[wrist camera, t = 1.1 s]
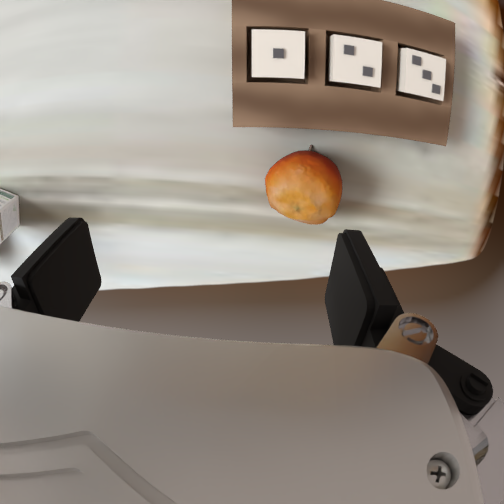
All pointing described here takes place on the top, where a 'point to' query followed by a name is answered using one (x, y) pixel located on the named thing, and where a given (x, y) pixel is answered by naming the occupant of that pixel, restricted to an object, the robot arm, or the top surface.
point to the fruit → (304, 187)
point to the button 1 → (278, 53)
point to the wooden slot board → (339, 93)
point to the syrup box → (8, 214)
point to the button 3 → (421, 73)
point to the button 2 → (355, 60)
